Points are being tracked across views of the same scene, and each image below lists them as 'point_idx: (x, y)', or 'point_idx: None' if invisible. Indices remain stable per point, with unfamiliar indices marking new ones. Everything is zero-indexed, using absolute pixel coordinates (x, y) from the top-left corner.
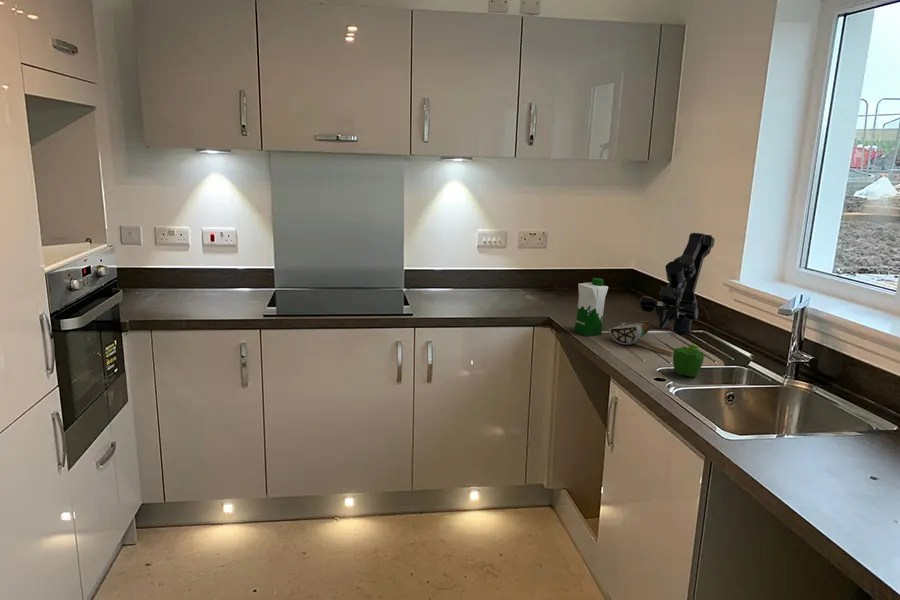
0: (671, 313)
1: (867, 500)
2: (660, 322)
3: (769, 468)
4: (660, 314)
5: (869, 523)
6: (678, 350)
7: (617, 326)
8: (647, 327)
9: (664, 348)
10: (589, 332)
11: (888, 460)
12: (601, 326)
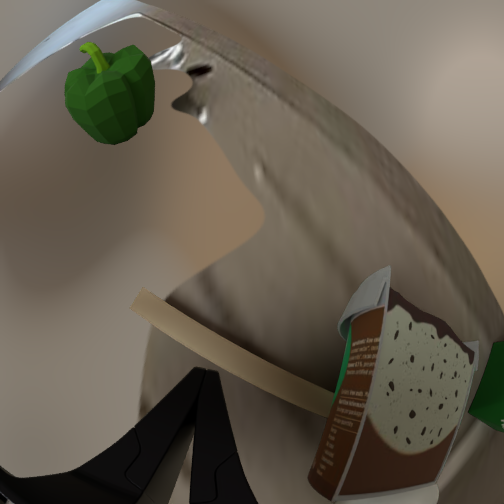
0: (69, 475)
1: (73, 20)
2: (215, 405)
3: (118, 8)
4: (232, 492)
5: (90, 8)
6: (137, 54)
7: (464, 405)
8: (324, 449)
9: (181, 333)
10: (500, 348)
11: (13, 68)
12: (495, 401)
